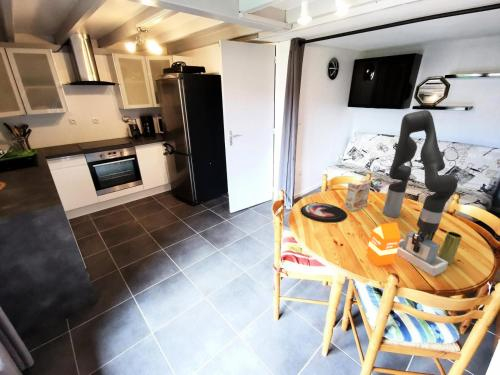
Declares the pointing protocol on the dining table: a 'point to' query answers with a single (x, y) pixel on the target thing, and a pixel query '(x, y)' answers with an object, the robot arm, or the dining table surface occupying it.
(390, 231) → the orange juice
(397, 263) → the dining table surface
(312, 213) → the wall clock
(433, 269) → the white rectangular tray
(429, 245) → the pale blue flat slab
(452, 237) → the vase
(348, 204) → the coffeecake box
